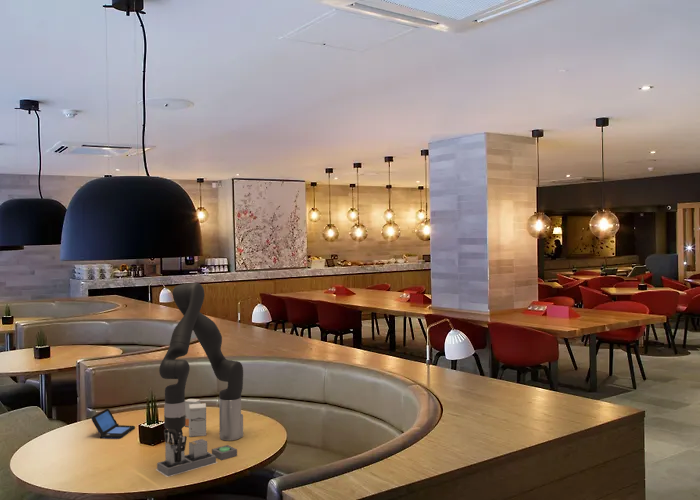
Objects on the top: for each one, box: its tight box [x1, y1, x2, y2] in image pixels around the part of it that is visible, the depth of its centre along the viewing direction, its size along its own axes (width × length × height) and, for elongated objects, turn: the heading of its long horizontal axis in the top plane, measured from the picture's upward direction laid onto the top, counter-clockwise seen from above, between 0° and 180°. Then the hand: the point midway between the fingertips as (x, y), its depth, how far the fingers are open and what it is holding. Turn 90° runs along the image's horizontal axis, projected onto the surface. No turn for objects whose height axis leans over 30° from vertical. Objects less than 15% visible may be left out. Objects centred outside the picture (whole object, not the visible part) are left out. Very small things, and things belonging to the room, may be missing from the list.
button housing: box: [211, 444, 238, 461], centre depth 238 cm, size 7×7×4 cm
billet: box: [164, 441, 186, 467], centre depth 223 cm, size 6×4×8 cm
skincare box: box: [184, 398, 201, 428], centre depth 279 cm, size 6×4×12 cm
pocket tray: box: [155, 451, 219, 478], centre depth 227 cm, size 20×10×4 cm, turn 133°
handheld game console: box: [91, 408, 136, 440], centre depth 269 cm, size 16×13×9 cm
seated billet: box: [188, 438, 208, 462], centre depth 230 cm, size 6×4×8 cm
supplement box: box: [188, 402, 207, 438], centre depth 267 cm, size 7×7×13 cm
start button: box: [219, 446, 230, 452], centre depth 238 cm, size 4×4×2 cm
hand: (175, 460), depth 224 cm, fingers closed on billet, 4 cm apart
